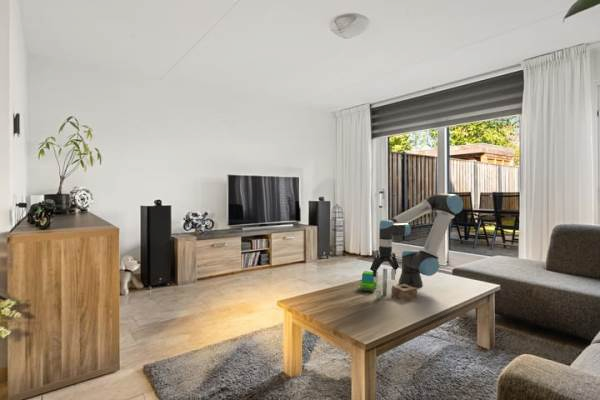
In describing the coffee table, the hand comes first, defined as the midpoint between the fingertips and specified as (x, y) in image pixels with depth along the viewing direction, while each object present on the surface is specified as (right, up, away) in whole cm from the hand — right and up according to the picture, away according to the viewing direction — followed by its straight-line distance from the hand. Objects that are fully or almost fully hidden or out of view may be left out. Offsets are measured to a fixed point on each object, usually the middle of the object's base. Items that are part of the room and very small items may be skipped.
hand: (384, 280), depth 203 cm
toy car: (-7, -8, +11) cm, 16 cm away
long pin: (0, -9, +1) cm, 9 cm away
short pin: (-6, -9, -8) cm, 13 cm away
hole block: (+11, -9, -3) cm, 14 cm away
